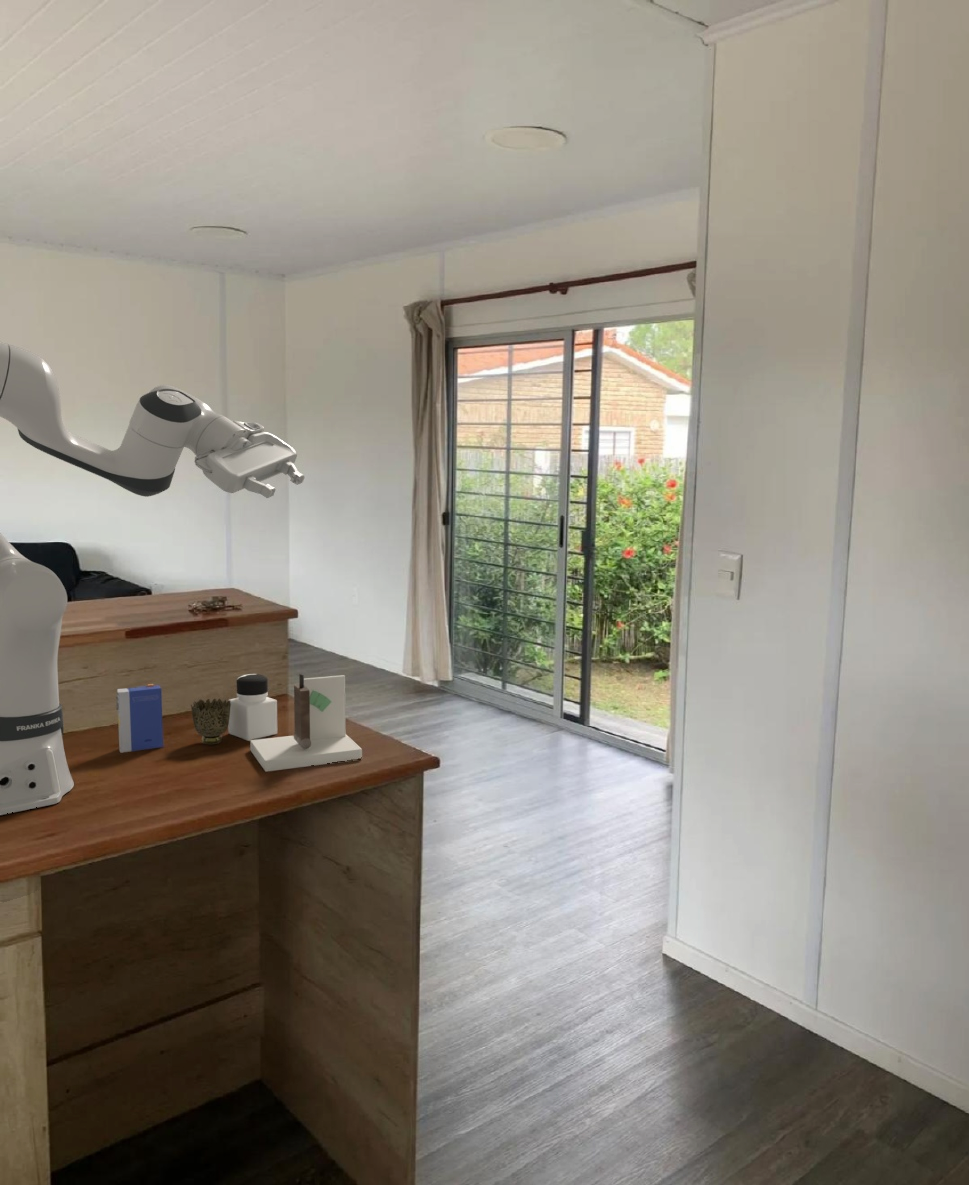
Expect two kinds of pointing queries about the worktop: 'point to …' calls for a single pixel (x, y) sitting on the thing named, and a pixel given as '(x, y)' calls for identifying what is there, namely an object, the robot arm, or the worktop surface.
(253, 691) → the medicine bottle
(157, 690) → the walkman
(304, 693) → the lever
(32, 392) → the robot arm
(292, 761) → the stand
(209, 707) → the cup
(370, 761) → the worktop surface
